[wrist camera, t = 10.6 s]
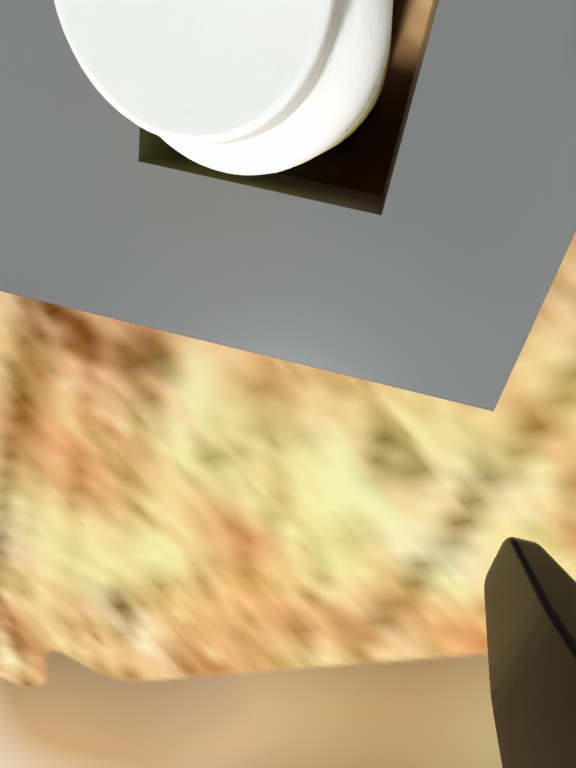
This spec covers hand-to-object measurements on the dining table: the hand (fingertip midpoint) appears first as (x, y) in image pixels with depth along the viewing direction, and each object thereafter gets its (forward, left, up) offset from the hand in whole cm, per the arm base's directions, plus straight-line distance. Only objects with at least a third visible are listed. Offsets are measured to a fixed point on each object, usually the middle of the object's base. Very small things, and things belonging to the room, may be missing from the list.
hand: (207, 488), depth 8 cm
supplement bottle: (-2, +7, -12) cm, 14 cm away
